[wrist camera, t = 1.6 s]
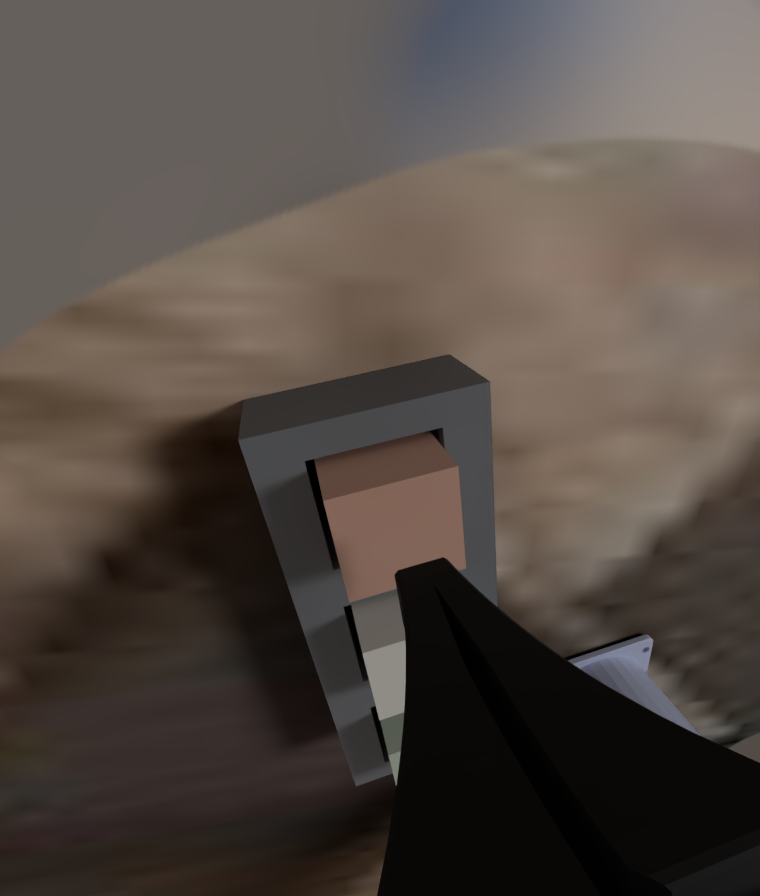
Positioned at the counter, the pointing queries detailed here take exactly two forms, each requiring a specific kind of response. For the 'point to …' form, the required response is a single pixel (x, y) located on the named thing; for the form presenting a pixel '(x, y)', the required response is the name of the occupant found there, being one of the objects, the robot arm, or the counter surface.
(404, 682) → the cream cube
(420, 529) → the brown cube
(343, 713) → the keypad
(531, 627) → the counter surface
